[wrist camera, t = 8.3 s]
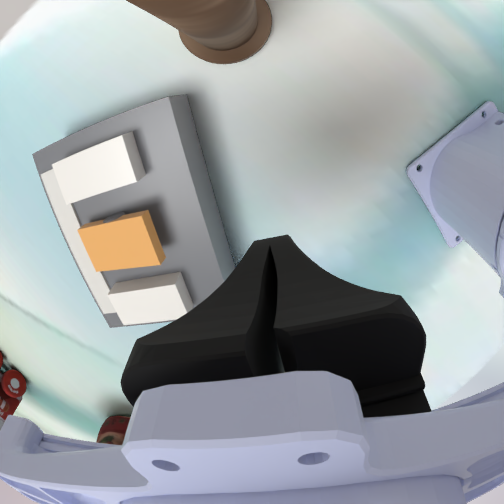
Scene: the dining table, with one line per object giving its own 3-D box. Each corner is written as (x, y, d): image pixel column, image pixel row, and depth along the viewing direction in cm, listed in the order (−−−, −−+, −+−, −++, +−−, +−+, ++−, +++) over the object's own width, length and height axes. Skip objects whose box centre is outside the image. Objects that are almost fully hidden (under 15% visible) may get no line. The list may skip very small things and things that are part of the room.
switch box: (186, 94, 18) (160, 97, 14) (239, 280, 25) (232, 327, 20) (64, 141, 20) (19, 159, 15) (127, 297, 26) (103, 339, 21)
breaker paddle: (153, 204, 17) (141, 215, 16) (170, 251, 19) (160, 265, 17) (90, 219, 19) (77, 229, 17) (107, 259, 20) (96, 271, 19)
